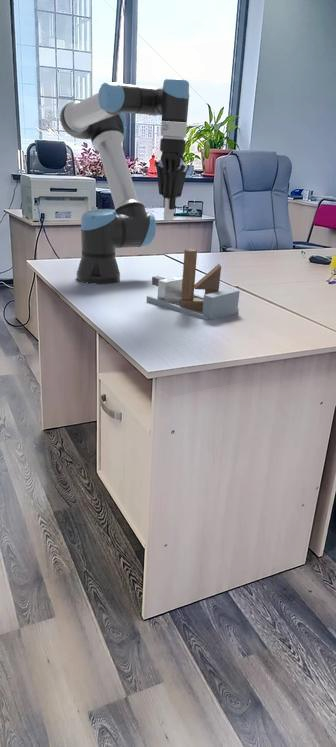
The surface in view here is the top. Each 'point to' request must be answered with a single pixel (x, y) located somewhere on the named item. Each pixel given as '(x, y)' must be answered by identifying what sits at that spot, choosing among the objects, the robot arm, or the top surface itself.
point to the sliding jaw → (168, 288)
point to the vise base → (208, 304)
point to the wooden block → (188, 283)
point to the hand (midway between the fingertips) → (168, 219)
